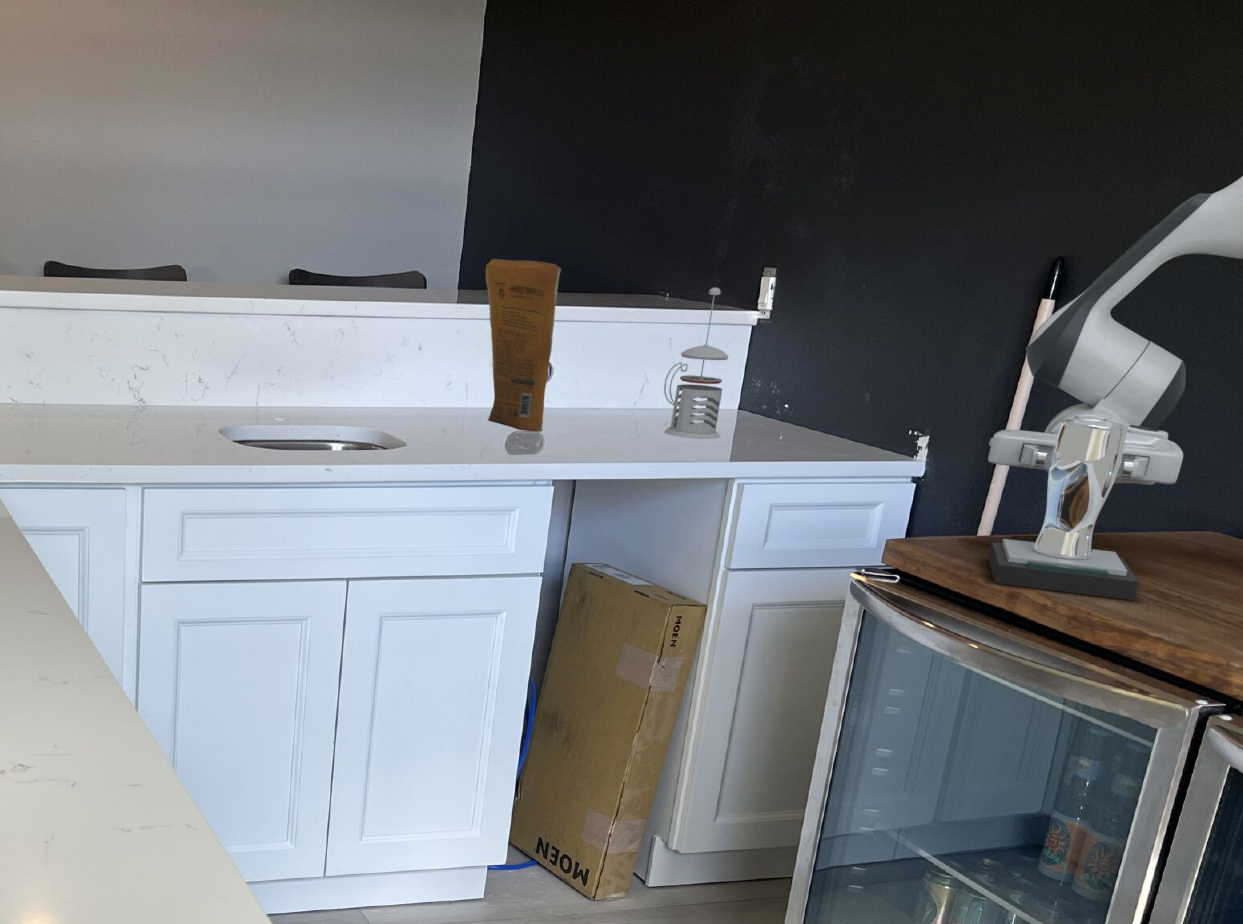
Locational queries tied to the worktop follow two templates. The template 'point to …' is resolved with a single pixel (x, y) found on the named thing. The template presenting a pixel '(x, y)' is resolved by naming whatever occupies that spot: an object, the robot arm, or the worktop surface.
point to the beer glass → (1079, 485)
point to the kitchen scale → (1062, 571)
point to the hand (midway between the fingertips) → (1083, 464)
